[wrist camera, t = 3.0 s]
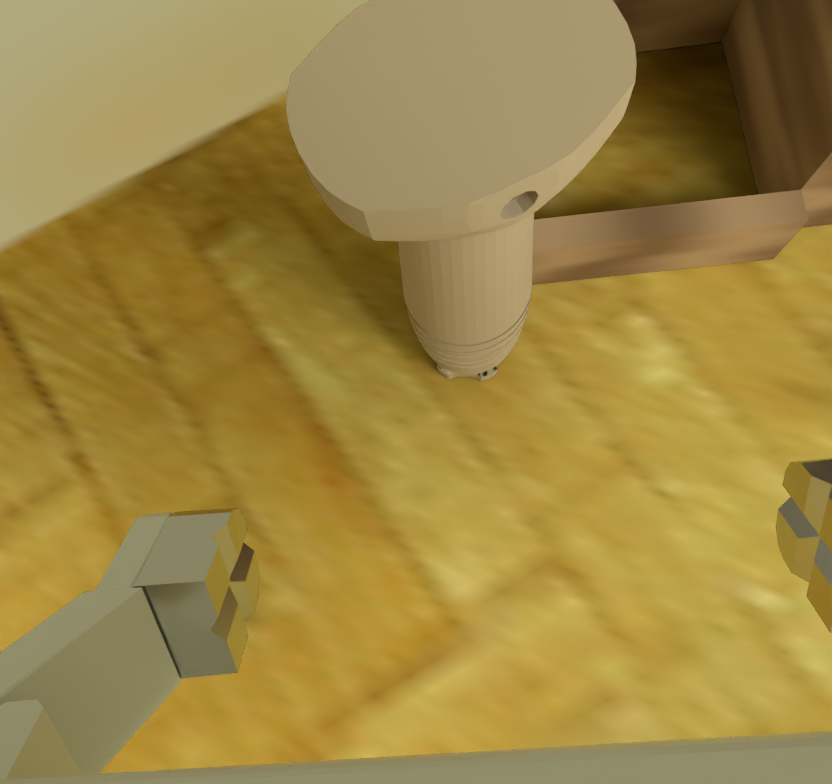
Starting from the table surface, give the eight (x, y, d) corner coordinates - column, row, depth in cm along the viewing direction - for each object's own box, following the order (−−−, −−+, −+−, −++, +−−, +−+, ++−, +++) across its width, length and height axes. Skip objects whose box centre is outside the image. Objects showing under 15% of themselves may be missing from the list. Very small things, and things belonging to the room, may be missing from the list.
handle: (573, 362, 26) (686, 100, 12) (422, 437, 26) (354, 261, 12) (513, 260, 28) (550, -85, 13) (369, 331, 28) (249, 56, 13)
